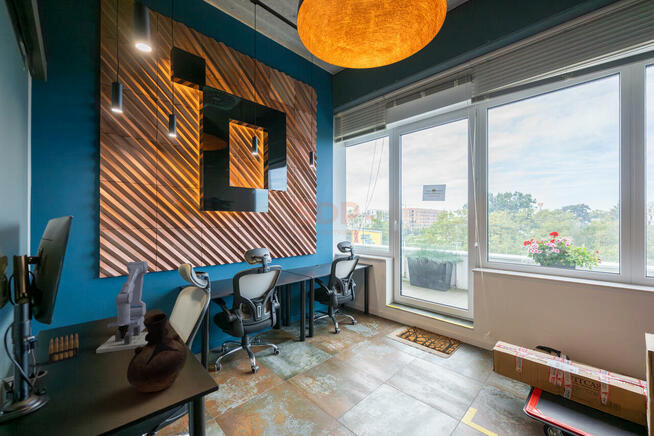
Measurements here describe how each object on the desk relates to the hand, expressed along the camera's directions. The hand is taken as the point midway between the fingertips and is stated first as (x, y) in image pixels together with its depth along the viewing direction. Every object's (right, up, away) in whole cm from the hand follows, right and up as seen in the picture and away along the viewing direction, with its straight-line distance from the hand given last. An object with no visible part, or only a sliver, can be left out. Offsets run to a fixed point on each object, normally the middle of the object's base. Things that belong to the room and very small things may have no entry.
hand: (123, 338), depth 147 cm
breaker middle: (-2, -1, -1) cm, 2 cm away
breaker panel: (+2, -3, +1) cm, 4 cm away
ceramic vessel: (+46, -2, -40) cm, 61 cm away
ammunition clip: (-16, -3, -18) cm, 24 cm away
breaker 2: (+2, -1, +7) cm, 7 cm away
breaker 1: (+6, -1, -4) cm, 7 cm away
